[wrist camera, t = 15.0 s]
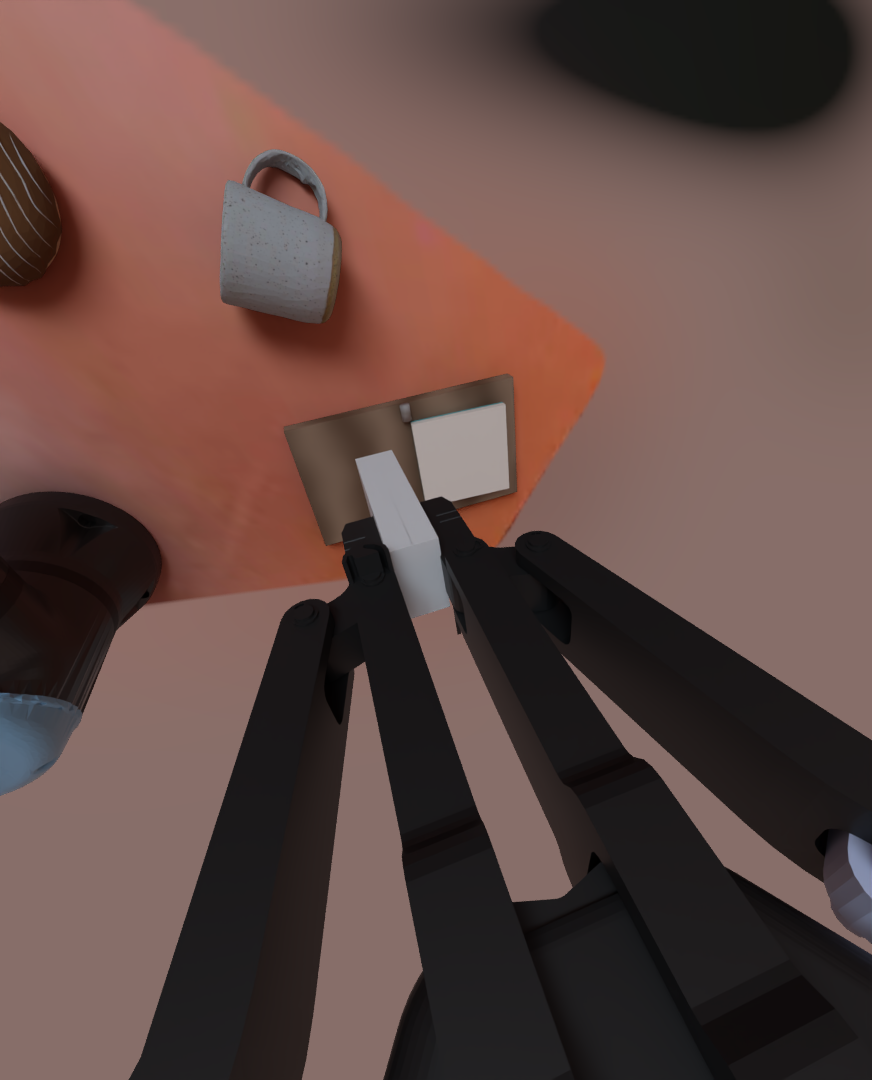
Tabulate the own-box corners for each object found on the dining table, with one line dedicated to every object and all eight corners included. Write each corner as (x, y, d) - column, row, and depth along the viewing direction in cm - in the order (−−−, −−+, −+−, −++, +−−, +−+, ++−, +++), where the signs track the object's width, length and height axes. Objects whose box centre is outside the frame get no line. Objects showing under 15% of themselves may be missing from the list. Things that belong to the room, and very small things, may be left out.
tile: (509, 488, 51) (506, 484, 52) (505, 404, 45) (502, 401, 46) (426, 507, 50) (424, 503, 51) (411, 424, 44) (410, 421, 45)
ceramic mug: (325, 323, 39) (333, 335, 33) (225, 297, 36) (213, 305, 30) (343, 178, 34) (357, 161, 28) (229, 134, 31) (216, 103, 25)
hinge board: (325, 538, 51) (326, 550, 49) (283, 426, 43) (283, 435, 41) (511, 486, 55) (520, 495, 53) (507, 373, 47) (517, 379, 45)
